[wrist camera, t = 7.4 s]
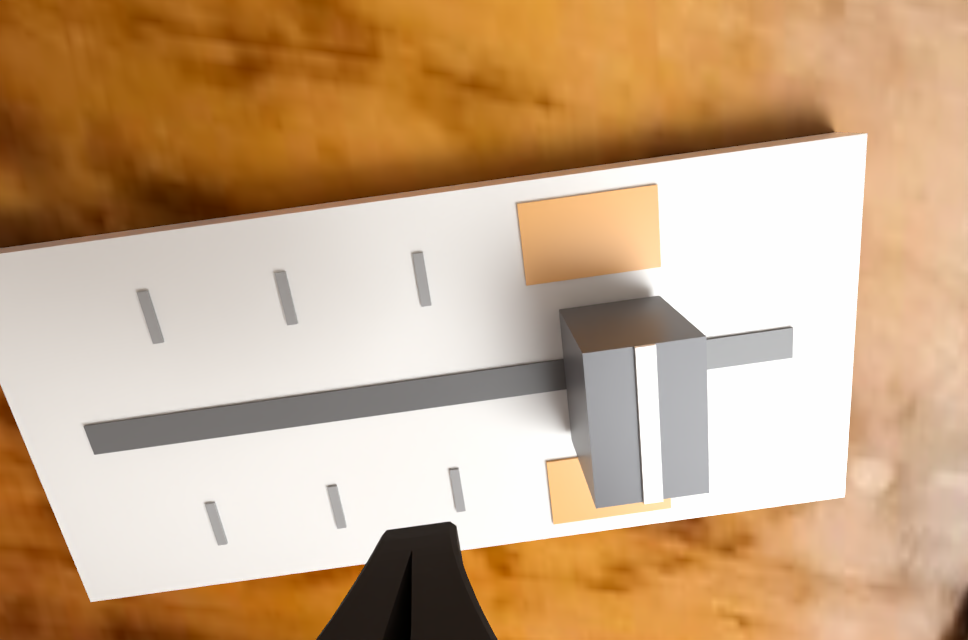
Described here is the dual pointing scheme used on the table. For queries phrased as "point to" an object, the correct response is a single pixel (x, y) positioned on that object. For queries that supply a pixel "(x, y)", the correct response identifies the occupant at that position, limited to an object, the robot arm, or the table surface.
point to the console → (423, 360)
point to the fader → (637, 400)
